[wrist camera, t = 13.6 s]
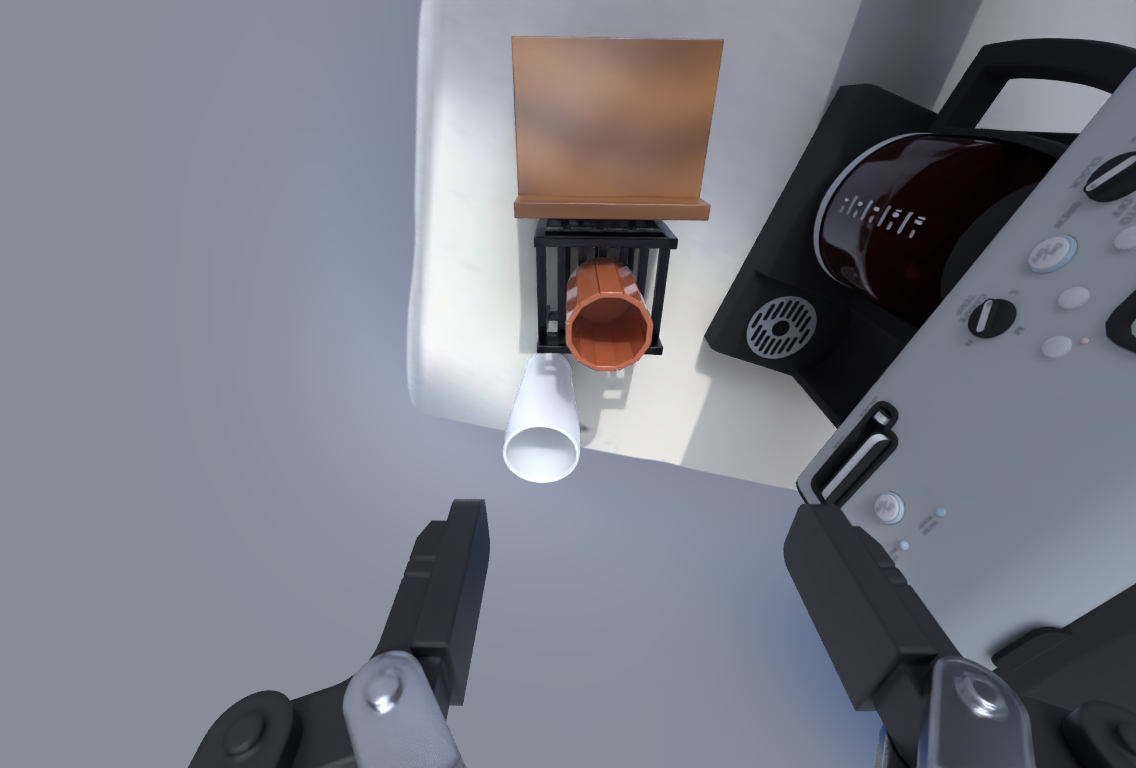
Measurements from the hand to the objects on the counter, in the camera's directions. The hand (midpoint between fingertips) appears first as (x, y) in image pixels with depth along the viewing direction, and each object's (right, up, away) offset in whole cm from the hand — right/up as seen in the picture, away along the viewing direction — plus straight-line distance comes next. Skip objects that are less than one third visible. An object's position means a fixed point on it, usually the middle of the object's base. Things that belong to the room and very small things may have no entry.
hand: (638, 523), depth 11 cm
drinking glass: (-4, +5, +39) cm, 40 cm away
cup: (+1, +12, +26) cm, 29 cm away
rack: (+1, +16, +33) cm, 36 cm away
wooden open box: (+1, +26, +27) cm, 37 cm away
